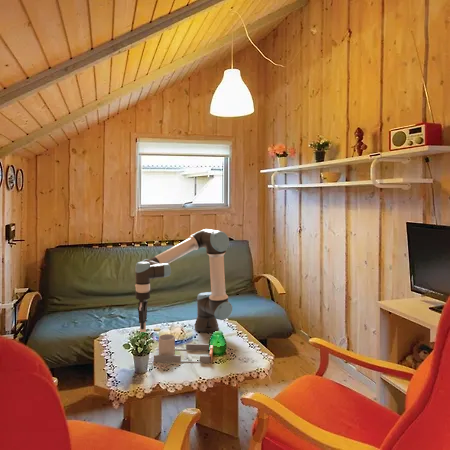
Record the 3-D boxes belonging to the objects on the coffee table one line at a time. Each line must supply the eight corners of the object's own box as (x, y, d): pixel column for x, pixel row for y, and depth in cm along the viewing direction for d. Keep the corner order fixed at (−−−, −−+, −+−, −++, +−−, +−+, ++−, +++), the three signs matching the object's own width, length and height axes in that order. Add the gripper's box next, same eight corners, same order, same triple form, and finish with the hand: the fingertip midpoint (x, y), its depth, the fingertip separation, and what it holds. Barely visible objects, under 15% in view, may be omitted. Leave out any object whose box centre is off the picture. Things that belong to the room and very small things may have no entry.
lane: (153, 361, 209) (153, 352, 209) (159, 349, 225) (159, 340, 225) (211, 363, 208) (211, 353, 208) (213, 350, 224) (213, 341, 224)
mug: (176, 358, 213) (176, 338, 212) (161, 361, 210) (161, 341, 209) (170, 349, 224) (170, 330, 223) (155, 352, 221) (155, 333, 220)
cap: (210, 348, 214) (210, 347, 214) (210, 345, 218) (210, 344, 218) (212, 349, 214) (212, 347, 214) (212, 345, 218) (212, 344, 218)
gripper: (138, 287, 220) (139, 329, 222) (132, 294, 207) (132, 338, 210) (152, 288, 220) (152, 329, 222) (147, 294, 207) (147, 339, 209)
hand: (143, 334), depth 216 cm, fingers closed
